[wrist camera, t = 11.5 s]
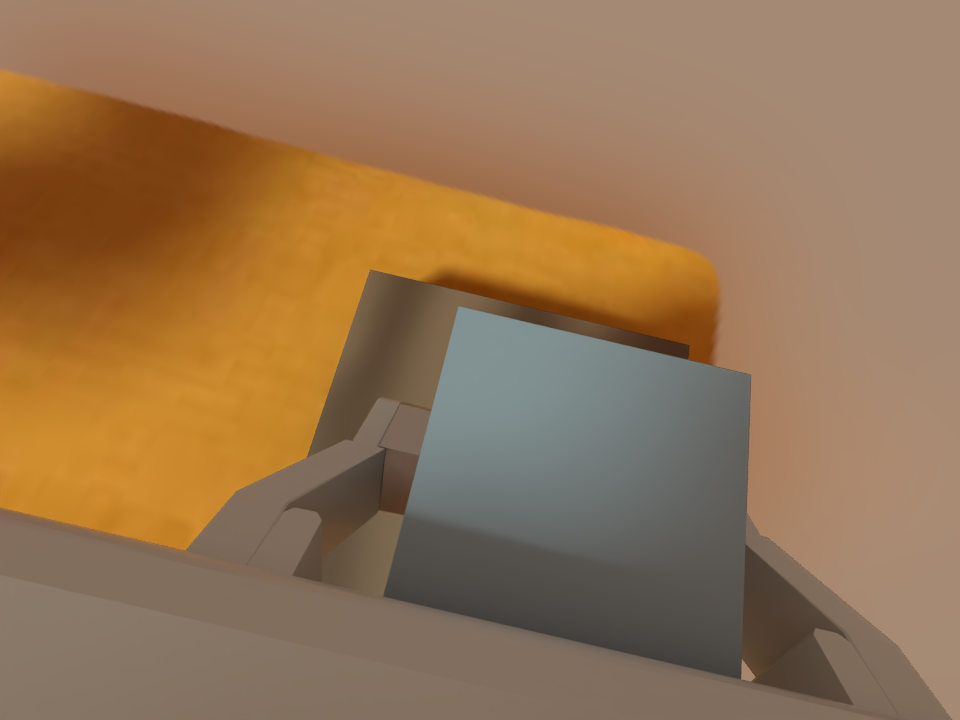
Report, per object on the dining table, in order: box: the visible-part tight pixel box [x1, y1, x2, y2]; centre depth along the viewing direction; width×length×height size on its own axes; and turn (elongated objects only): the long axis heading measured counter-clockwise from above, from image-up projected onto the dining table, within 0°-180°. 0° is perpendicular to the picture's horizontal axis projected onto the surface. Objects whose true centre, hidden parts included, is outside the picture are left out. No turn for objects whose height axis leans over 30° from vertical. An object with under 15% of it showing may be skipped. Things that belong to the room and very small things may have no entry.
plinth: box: [307, 270, 689, 596], centre depth 19 cm, size 16×16×4 cm
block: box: [383, 306, 751, 679], centre depth 10 cm, size 5×5×8 cm
